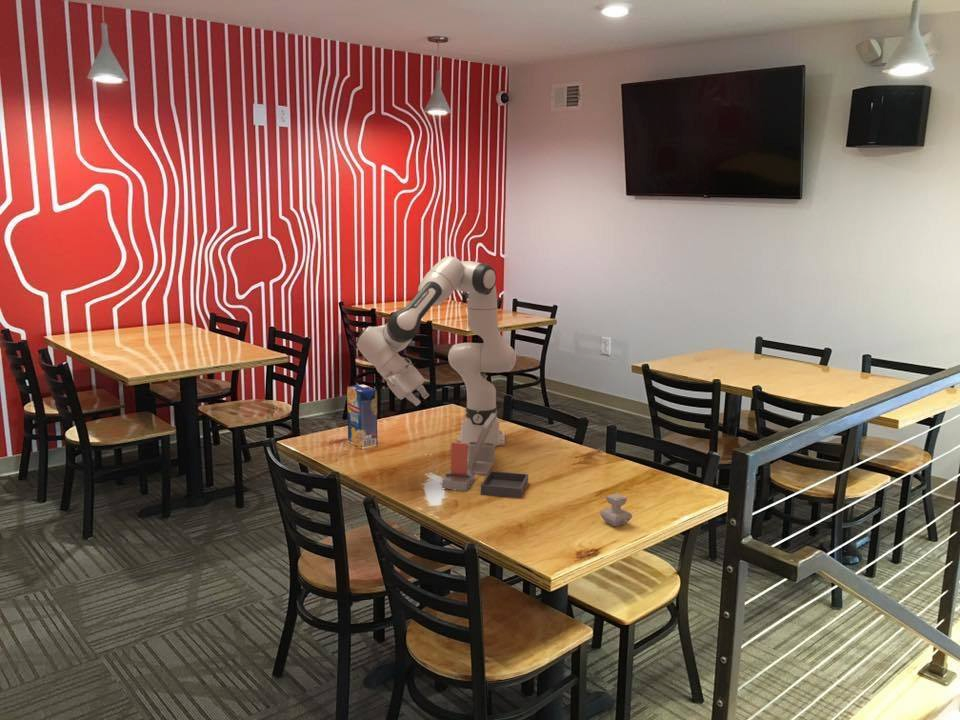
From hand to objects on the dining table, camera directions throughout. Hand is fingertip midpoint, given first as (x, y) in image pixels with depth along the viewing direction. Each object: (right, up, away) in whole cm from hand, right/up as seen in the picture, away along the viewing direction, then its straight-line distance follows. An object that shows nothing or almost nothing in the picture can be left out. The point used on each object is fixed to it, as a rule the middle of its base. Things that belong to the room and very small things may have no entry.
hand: (423, 400), depth 252 cm
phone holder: (+18, -24, +20) cm, 36 cm away
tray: (+27, -28, -1) cm, 39 cm away
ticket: (+12, -28, +3) cm, 30 cm away
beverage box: (-26, -19, +43) cm, 54 cm away
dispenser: (+12, -27, +3) cm, 30 cm away
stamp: (+58, -34, -27) cm, 73 cm away
